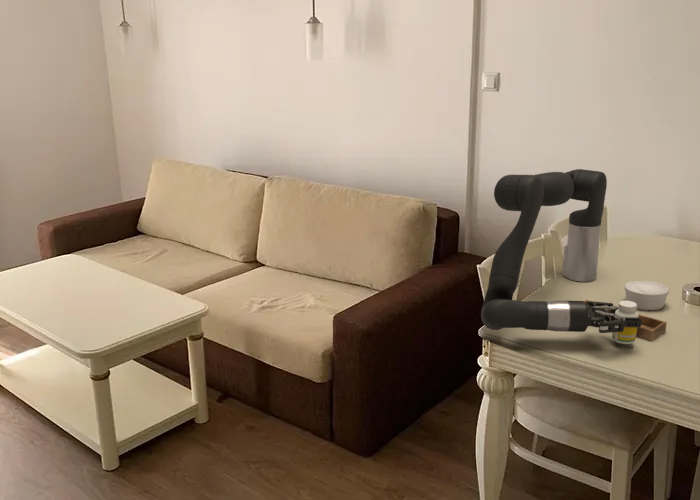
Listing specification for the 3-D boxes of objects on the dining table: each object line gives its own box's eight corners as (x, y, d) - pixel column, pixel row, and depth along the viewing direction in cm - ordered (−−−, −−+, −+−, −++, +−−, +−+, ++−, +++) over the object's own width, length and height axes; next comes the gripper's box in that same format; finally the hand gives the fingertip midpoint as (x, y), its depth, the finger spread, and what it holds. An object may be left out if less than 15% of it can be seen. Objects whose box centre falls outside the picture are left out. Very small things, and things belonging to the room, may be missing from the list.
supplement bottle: (607, 338, 175) (610, 301, 172) (623, 333, 177) (627, 297, 174) (623, 346, 170) (628, 309, 167) (640, 341, 172) (644, 305, 169)
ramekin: (615, 303, 199) (616, 286, 198) (637, 294, 206) (639, 277, 204) (652, 315, 191) (654, 297, 189) (674, 305, 197) (676, 287, 196)
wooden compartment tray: (571, 317, 191) (572, 307, 190) (585, 309, 196) (586, 299, 195) (651, 341, 176) (653, 331, 175) (665, 331, 181) (666, 322, 180)
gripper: (572, 313, 165) (648, 315, 164) (560, 290, 179) (630, 291, 177) (569, 343, 168) (644, 344, 166) (558, 318, 181) (627, 319, 179)
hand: (637, 317), depth 172 cm, fingers closed on supplement bottle, 5 cm apart
